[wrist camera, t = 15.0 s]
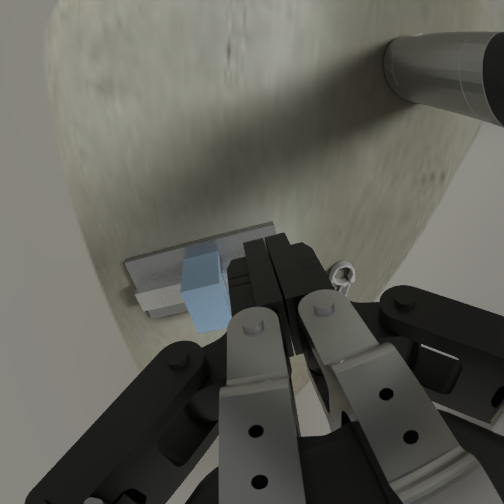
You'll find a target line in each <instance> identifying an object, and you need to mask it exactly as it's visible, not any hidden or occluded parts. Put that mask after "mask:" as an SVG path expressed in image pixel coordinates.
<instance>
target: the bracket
mask: <svg viewBox="0 0 504 504" xmlns="http://www.w3.org/2000/svg"><path fill="white" fill-rule="evenodd" d="M344 267H347V268H350V271H349V274H348V275H347V277H348V279H349V280H350V281H351V282H352V283H353V282H354V281H355V270H354V268H353V267H352V265H351V264H350V263H349V262H347V261H341V262H338V263H336V264H335V265H334V266H333V267H332V268H331V272H330V275H329V280H330V281H331V283H332V285H333V286H334V285H340V288H339V290H338V292H341V293H342V294H344V295H345V296H346V295H347V293H348V289H349V287H350V285H351V284H350V283H349V281H348V280H347V279H346V278H345V277H344V278H342V279H336V278H335V274H336V272H337V271H338V270H339V269H341V268H344Z"/></svg>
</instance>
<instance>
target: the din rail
mask: <svg viewBox="0 0 504 504" xmlns="http://www.w3.org/2000/svg"><path fill="white" fill-rule="evenodd" d="M271 235H276V232H275V227H274V223H273V221H272V222H268V223H264V224H260V225H256V226H252V227H248V228H244V229H240V230H236V231H232V232H228V233H224V234H220V235H216V236H212V237H208V238H204V239H200V240H196V241H192V242H189V243H185V244H181V245H177V246H173V247H169V248H166V249H162V250H158V251H154V252H151V253H147V254H143V255H139V256H136V257H132V258H128V259H126V260H125V266H126V268H127V270H128V272H129V274H130V276H131V278H132V280H133V282H134V284H135V286H136V291H135V296H136V298H137V300H138V302H139V304H140V306H141V308H142V310H143V312H144V311H148V312H149V314H150V316H151V318H152V319H154V318H159V317H163V316H168V315H173V314H177V313H182V312H186V311H188V309H187V307H186V305H185V302H184V300H183V298H182V295H181V293H180V290H181V279H182V270H183V260H184V259H188V258H192V257H196V256H200V255H203V254H207V253H211V252H215V251H217V252H218V255H219V258H220V269H221V274H222V277H223V280H224V283H225V286H226V289H227V292H229V287H228V279H227V268H228V266H229V264H230V262H231V260H233V259H237V258H241V257H245V251H244V246H243V242H247V241H252V240H256V239H260V238H263V240H264V243H265V239H264V237H267V236H271ZM265 246H266V244H265Z"/></svg>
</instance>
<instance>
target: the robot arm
mask: <svg viewBox="0 0 504 504" xmlns="http://www.w3.org/2000/svg"><path fill="white" fill-rule="evenodd" d="M384 72H385V76H386V79H387V81H388V83H389V85H390V86H391V88H392V89H393V91H394V92H395V93H396V94H397V95H398V96H400V97H401V98H403V99H405V100H407V101H410V102H415V103H419V104H423V105H427V106H431V107H435V108H439V109H443V110H447V111H451V112H455V113H458V114H462V115H465V116H469V117H472V118H475V119H479V120H482V121H485V122H488V123H492V124H495V125H498V126H501V127H503V128H504V32H445V33H429V34H416V35H406V36H401V37H398V38H396V39H394V40H393V41H392V42H391V43H390V44H389V46H388V47H387V49H386V52H385V55H384ZM264 239H265V243H264V240H263V238H260V239H256V240H252V241H247V242H243V246H244V251H245V257H241V258H237V259H233V260H231V262H230V264H229V266H228V268H227V279H228V287H229V297H230V306H231V315H232V318H231V320H230V321H229V323H228V326H227V332H226V333H225V334H224V335H223V336H222V337H221V338H219V339H218V340H216V341H215V342H213V343H211V344H208V345H206V346H204V347H202V348H201V347H200V346H199V345H198V344H197V343H195V342H192V341H178V342H175V343H172V344H170V345H168V346H166V347H165V348H164V349H163V350H161V351H160V352H159V354H158V355H157V356H156V357H155V358H154V359H153V360H152V361H151V362H150V363H149V364H148V365H147V366H146V368H145V369H144V370H143V371H142V372H141V373H140V374H139V375H138V376H137V377H136V378H135V379H134V380H133V382H132V383H131V384H130V385H129V386H128V387H127V388H126V389H125V390H124V391H123V392H122V393H121V395H120V396H119V397H118V398H117V399H116V400H115V401H114V402H113V403H112V404H111V405H110V406H109V408H108V409H107V410H106V411H105V412H104V413H103V414H102V415H101V416H100V417H99V418H98V419H97V421H95V423H94V424H93V425H92V426H91V427H90V428H89V429H88V430H87V431H86V432H85V433H84V435H82V437H81V438H80V439H79V440H78V441H77V442H76V443H75V444H74V445H73V446H72V447H71V449H69V451H68V452H67V453H66V454H65V455H64V456H63V457H62V458H61V459H60V460H59V461H58V462H57V464H56V465H55V466H54V467H53V468H52V469H51V470H50V471H49V472H48V473H47V474H46V475H45V477H44V478H43V479H42V480H41V481H40V482H39V483H38V484H37V485H36V486H35V487H34V488H33V489H32V490H31V492H30V493H29V494H28V496H27V498H26V500H25V504H165V503H166V502H167V501H168V500H169V498H170V497H171V496H172V495H173V494H174V492H175V491H176V490H177V489H178V487H179V486H180V485H181V483H182V482H183V481H184V480H185V479H186V477H187V476H188V475H189V473H190V472H191V471H192V470H193V468H194V467H195V466H196V464H197V463H198V462H199V460H200V459H201V458H202V456H203V455H204V454H205V452H206V451H207V450H208V449H209V447H210V446H211V444H212V443H213V442H214V440H215V439H216V438H217V436H218V435H219V466H218V467H217V468H215V469H214V470H213V471H212V472H210V473H209V474H208V475H207V476H206V477H205V478H204V479H203V480H202V481H201V482H200V483H199V485H198V486H197V487H196V489H195V490H194V492H193V493H192V494H191V496H190V497H189V499H188V500H187V501H186V503H185V504H504V317H503V316H501V315H498V314H495V313H492V312H489V311H486V310H483V309H480V308H477V307H474V306H471V305H468V304H464V303H462V302H459V301H456V300H453V299H450V298H446V297H443V296H440V295H437V294H434V293H431V292H428V291H425V290H422V289H419V288H415V287H412V286H407V285H400V286H395V287H392V288H389V289H388V290H386V291H385V292H384V293H383V294H382V296H381V298H380V302H370V303H357V302H352V301H349V300H348V298H347V297H346V296H345V295H344V294H342V293H341V292H338V291H335V289H334V287H333V285H332V283H331V281H330V280H329V278H328V276H327V274H326V272H325V271H324V269H323V267H322V265H321V263H320V262H319V260H318V258H317V256H316V254H315V253H314V251H313V249H312V248H311V247H309V246H308V245H306V244H304V243H303V242H301V243H297V244H293V245H290V243H289V241H288V239H287V237H286V235H285V233H280V234H276V235H271V236H267V237H264ZM265 244H266V246H265ZM290 337H291V338H290ZM291 340H292V343H293V347H294V350H295V353H296V355H299V354H302V353H303V354H304V357H305V360H306V364H307V371H308V375H309V377H310V379H311V382H312V384H313V386H314V389H315V391H316V393H317V396H318V398H319V400H320V403H321V405H322V407H323V410H324V412H325V415H326V417H327V419H328V422H329V425H330V430H331V433H329V434H327V435H324V436H310V437H301V433H300V427H299V421H298V415H297V409H296V403H295V397H294V391H293V385H292V379H291V373H292V368H291V363H290V358H289V357H291V356H294V353H293V348H292V343H291ZM421 344H423V345H426V346H429V347H431V348H434V349H436V350H439V351H442V352H444V353H447V354H450V355H452V356H455V357H457V358H459V360H456V359H453V358H450V357H448V356H445V355H442V354H440V353H437V352H434V351H432V350H429V349H427V348H424V347H421ZM432 401H434V402H436V403H438V404H441V405H443V406H446V407H448V408H450V409H453V410H456V411H458V412H460V413H463V414H465V415H468V416H471V417H473V418H476V419H478V420H481V421H484V422H486V423H489V424H491V427H492V430H493V432H492V431H490V430H488V429H485V428H483V427H481V426H478V425H476V424H474V423H471V422H469V421H467V420H465V419H462V418H460V417H458V416H455V415H453V414H451V413H448V412H445V411H442V410H439V409H436V407H435V406H434V404H433V402H432Z"/></svg>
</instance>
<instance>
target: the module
mask: <svg viewBox="0 0 504 504" xmlns="http://www.w3.org/2000/svg"><path fill="white" fill-rule="evenodd" d="M180 293H181V295H182V298H183V300H184V302H185V305H186V307H187V309H188V311H189V314H190V316H191V318H192V320H193V323H194V325H195V327H196V329H197V331H198V333H199V334H200V333H204V332H209V331H213V330H218V329H222V328H227V326H228V323H229V321H230V320H231V318H232V315H231V306H230V297H229V292H227V289H226V286H225V283H224V280H223V277H222V274H221V269H220V258H219V255H218V252H217V251H215V252H211V253H207V254H203V255H200V256H196V257H192V258H188V259H184V260H183V270H182V279H181V290H180Z"/></svg>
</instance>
